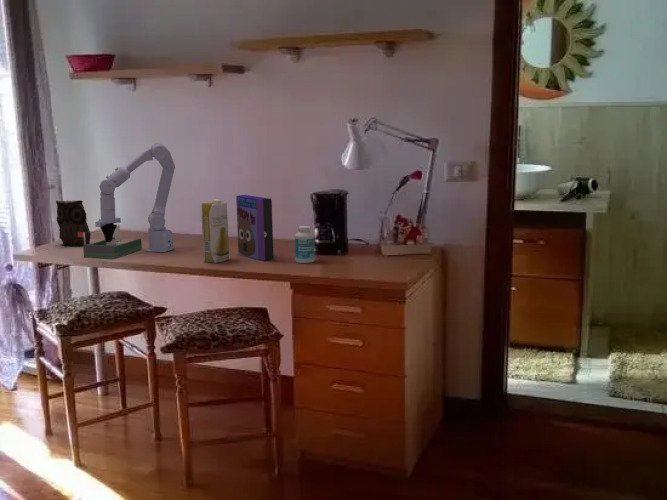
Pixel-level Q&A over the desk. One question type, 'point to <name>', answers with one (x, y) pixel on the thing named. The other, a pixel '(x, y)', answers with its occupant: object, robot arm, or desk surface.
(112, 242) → the golf ball
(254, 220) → the cereal box
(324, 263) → the desk surface
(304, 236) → the pill bottle
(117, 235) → the grey cup
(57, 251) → the desk surface
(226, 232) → the juice carton
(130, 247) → the putting green
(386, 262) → the desk surface
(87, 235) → the owl
